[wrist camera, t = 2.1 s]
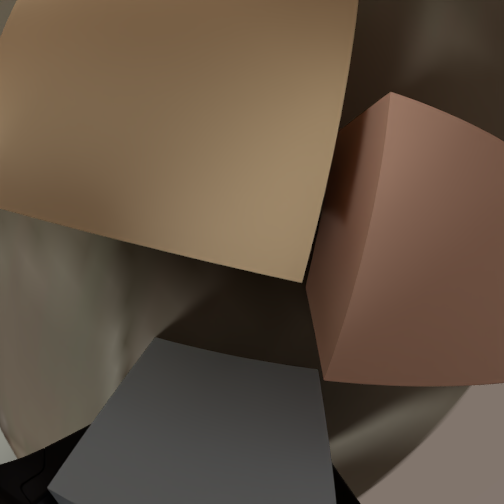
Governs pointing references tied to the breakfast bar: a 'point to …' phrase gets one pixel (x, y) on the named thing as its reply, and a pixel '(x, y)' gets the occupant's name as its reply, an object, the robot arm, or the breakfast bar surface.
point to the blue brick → (204, 435)
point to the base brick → (176, 122)
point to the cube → (411, 251)
